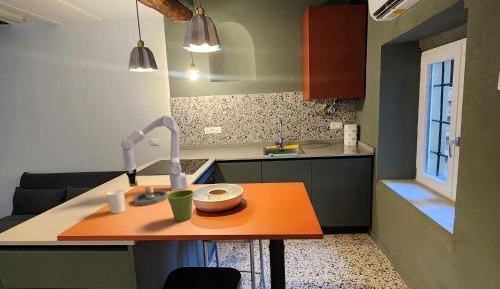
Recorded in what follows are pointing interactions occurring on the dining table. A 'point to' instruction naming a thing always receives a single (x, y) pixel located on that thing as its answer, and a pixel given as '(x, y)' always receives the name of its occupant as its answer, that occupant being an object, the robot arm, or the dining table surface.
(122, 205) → the white cup
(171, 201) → the plant pot
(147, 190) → the bead
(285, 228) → the dining table surface
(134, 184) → the bead
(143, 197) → the groove dish
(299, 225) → the dining table surface
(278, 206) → the dining table surface
